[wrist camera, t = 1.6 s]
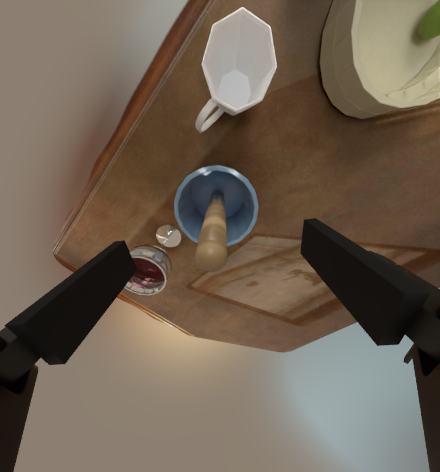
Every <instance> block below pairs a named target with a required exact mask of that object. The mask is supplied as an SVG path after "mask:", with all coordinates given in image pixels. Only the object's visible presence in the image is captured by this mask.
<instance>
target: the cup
mask: <svg viewBox="0 0 440 472" xmlns="http://www.w3.org/2000/svg"><path fill="white" fill-rule="evenodd" d="M201 65H202V68H203V71H204V74H205V77H206V81H207V84H208V87H209V90H210V93H211V96H212V98H211V99H210V100H209V101H208V102H207V104H206V105H205V106H204V108H203V109H202V111H201V112H200V114H199V115H198V118H197V120H196V123H195V127H196V129H197V130H198V131H199V132H200V133H203V132H204V131H205V130H207V129H208V128H209V127H210V126H211V125H212V124H213V123H214V122H215V121H216V120H217V119H218V118H219V117H220V116H221V115H222V114H223V113H224V111H225V112H226V113H228V114H230V115H232V116H234V115H237V114H239V113H241V112H243V111H245V110H247V109H249V108H251V107H253V106H254V105H256V104H258V103H259V102H261V101H262V100H263V98H264V95H265V93H266V91H267V89H268V86H269V84H270V82H271V79H272V77H273V75H274V73H275V70H276V68H277V63H276V57H275V50H274V44H273V38H272V32H271V26H269V25H268V24H267V23H265V22H264V21H262V20H261V19H259V18H258V17H256V16H255V15H254V14H252V13H251V12H249V11H248V10H246V9H245V8H244V7H242V8H240V9H238V10H237V11H235V12H233V13H232V14H230V15H228V16H226V17H225V18H223V19H221V20H220V21H218V22H216V23H215V24H213V25H212V29H211V32H210V36H209V39H208V43H207V46H206V50H205V54H204V57H203V61H202V64H201ZM216 106H218V107H219V109H218V110H217V111H216V112H215V113H214V114H213V115H212V116H211V117H210V118H209V119H208V120H207V121H205V119H206V118H207V117H208V115H209V114H210V113H211V112H212V111H213V110H214V108H215V107H216ZM204 121H205V122H204Z"/></svg>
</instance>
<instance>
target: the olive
mask: <svg viewBox="0 0 440 472" xmlns="http://www.w3.org/2000/svg"><path fill="white" fill-rule="evenodd" d="M439 35H440V0H438V1H437V2H436V3H435V4H434V5H432V6H431V8H430V9H429V10H428V11H427V12H426V13H425V15H424V16H423V18H422V20H421V22H420V24H419V27H418V36H419V37H420V38H421V39H423V40H429V39H433V38H435V37H437V36H439Z"/></svg>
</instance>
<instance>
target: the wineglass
mask: <svg viewBox="0 0 440 472" xmlns="http://www.w3.org/2000/svg"><path fill="white" fill-rule="evenodd" d="M156 235H157V239H158V241H159V242H160V243H161V246H160V247H157V246H154V245H141V246H137V247H135V248H133V249H131V250H130V251H129V252H130V254H131V256H132V258H133V261H134V263H135V265H136V267H137V269H138V270H137V271H136V273H135V274H134V275H133V276H132V278H131V279H130V280H129V282H128V283H127V284H126V285H125V288H126V289H128V290H129V291H131V292H133V293H137V294H140V295H152V294H156V293H158V292H160V291H161V290H162V289H163V288H164V287H165V284H166V281H167V280H168V278H169V277H170V274H171V271H172V263H171V259H170V257H169V255H168V254H167V253H166V252H165V251H164V250H163V248H164V246H167V247H175V246H177V245H178V244H179V243H180V241H181V234H180V232H179V231H178V230H177V229H176V228H175V227H173V226H170V225H164V226H161V227H160V228H159V229H158V230H157V233H156Z"/></svg>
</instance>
